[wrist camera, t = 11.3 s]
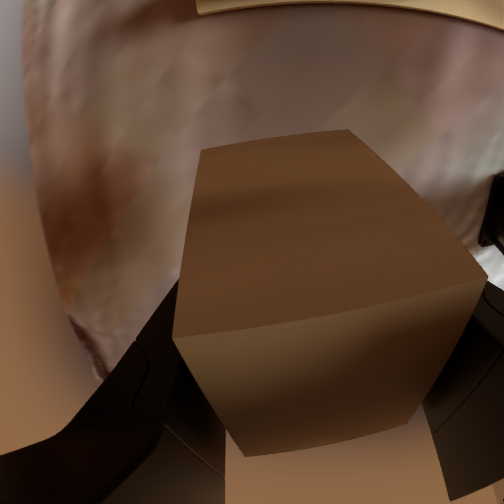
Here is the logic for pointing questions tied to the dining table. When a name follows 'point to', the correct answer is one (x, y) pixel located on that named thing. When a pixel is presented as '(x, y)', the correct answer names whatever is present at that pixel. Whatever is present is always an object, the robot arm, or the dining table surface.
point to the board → (446, 3)
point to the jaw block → (316, 291)
